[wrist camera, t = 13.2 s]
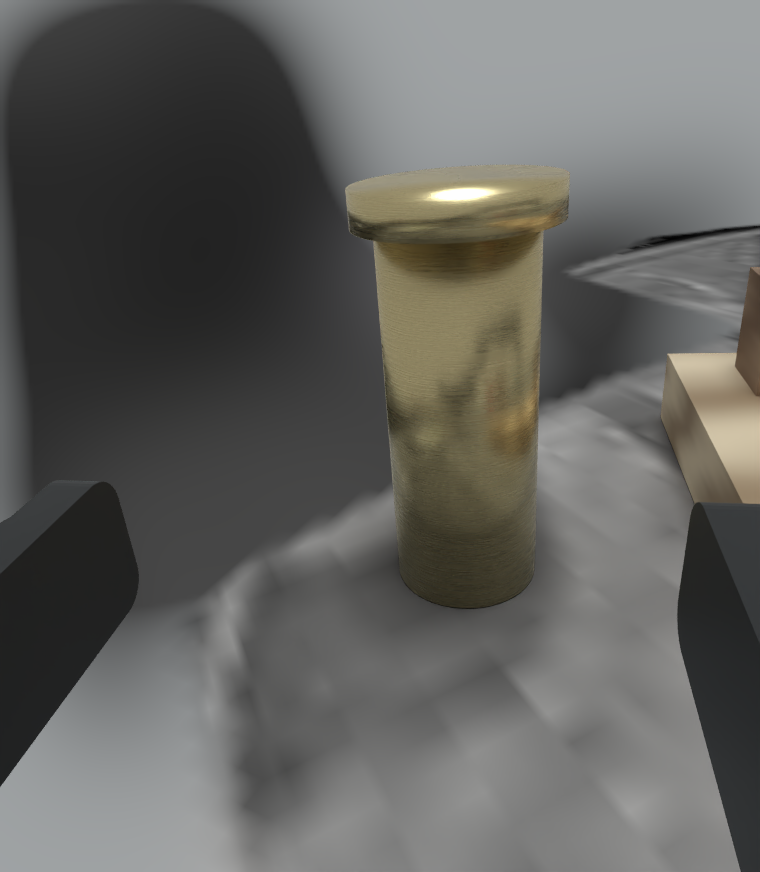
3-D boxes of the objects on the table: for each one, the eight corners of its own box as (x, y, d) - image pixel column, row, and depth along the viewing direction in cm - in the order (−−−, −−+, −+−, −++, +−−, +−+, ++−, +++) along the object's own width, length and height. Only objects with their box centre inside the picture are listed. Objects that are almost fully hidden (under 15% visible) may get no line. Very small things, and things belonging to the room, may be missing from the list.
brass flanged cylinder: (458, 499, 27) (448, 162, 21) (588, 558, 23) (614, 167, 18) (346, 568, 23) (300, 191, 18) (475, 650, 20) (466, 204, 14)
